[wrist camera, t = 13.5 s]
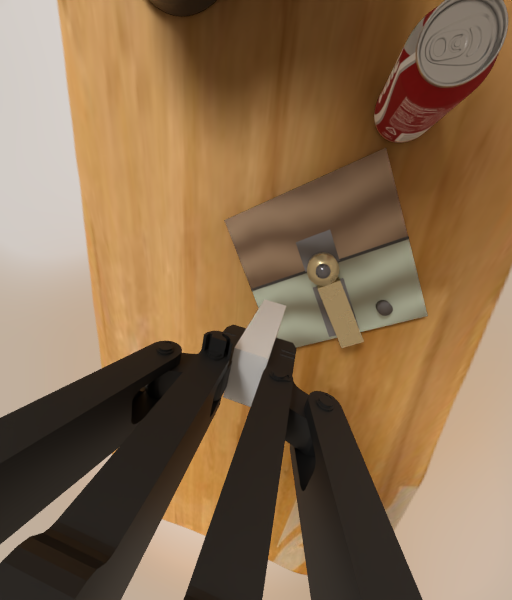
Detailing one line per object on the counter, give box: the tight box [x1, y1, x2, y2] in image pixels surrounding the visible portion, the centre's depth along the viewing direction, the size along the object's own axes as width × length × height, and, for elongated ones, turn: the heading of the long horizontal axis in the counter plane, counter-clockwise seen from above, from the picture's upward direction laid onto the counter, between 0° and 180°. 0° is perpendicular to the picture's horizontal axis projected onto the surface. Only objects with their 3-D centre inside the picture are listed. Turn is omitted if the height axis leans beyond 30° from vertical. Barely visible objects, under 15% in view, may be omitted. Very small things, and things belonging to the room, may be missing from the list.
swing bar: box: [307, 252, 364, 348], centre depth 33 cm, size 13×4×4 cm, turn 24°
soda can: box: [374, 0, 508, 143], centre depth 23 cm, size 7×7×12 cm
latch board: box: [224, 148, 428, 347], centre depth 34 cm, size 22×22×3 cm
